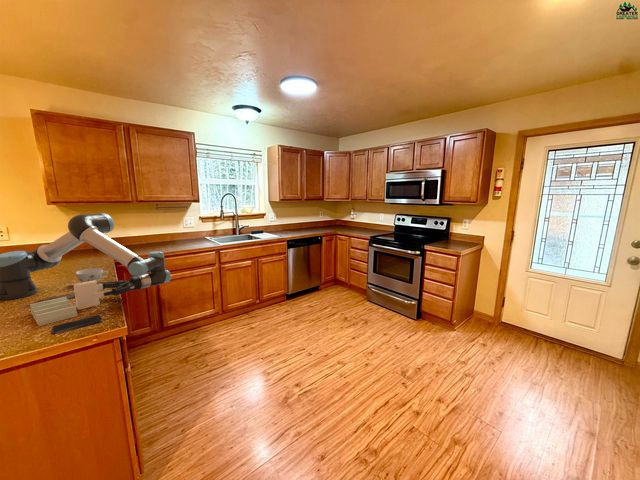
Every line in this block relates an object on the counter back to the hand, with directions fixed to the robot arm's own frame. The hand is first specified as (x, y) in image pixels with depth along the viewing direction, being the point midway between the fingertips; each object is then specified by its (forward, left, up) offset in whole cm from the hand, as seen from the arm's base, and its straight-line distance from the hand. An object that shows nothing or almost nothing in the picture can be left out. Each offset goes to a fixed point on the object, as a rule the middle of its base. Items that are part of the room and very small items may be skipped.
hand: (90, 292), depth 127 cm
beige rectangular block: (-1, -1, -7) cm, 7 cm away
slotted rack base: (-1, -13, -7) cm, 15 cm away
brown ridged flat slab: (-25, -8, -7) cm, 27 cm away
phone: (+20, -9, -7) cm, 23 cm away
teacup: (-44, +11, -7) cm, 46 cm away
